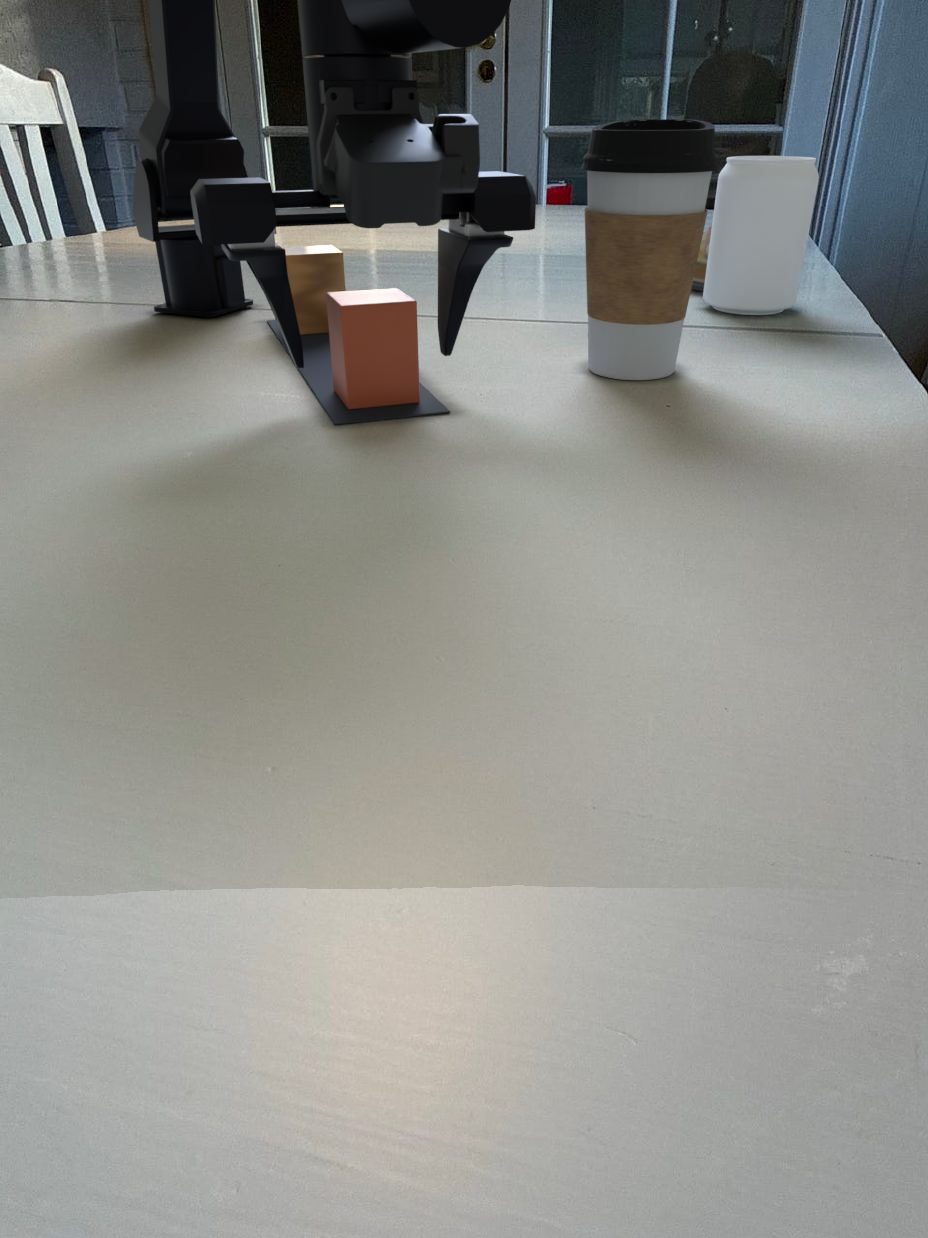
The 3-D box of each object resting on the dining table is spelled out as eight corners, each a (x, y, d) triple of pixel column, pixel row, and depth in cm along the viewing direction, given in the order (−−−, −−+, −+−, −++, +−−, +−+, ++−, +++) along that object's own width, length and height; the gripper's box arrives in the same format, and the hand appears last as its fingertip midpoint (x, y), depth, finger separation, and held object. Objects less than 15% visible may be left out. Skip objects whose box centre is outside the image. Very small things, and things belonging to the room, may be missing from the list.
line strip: (450, 412, 52) (450, 411, 52) (334, 424, 50) (334, 423, 50) (347, 315, 76) (347, 314, 76) (267, 321, 74) (267, 320, 74)
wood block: (293, 335, 69) (285, 254, 66) (285, 324, 73) (277, 247, 70) (348, 331, 70) (343, 251, 67) (337, 320, 74) (332, 244, 71)
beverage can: (800, 318, 74) (829, 160, 68) (703, 315, 76) (723, 159, 70) (789, 300, 81) (815, 155, 75) (700, 298, 82) (718, 155, 76)
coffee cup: (699, 359, 62) (730, 118, 55) (685, 390, 56) (718, 120, 48) (584, 350, 65) (599, 119, 57) (557, 379, 58) (569, 120, 50)
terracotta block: (348, 410, 52) (340, 305, 49) (333, 390, 56) (325, 292, 53) (420, 402, 53) (417, 300, 50) (401, 383, 57) (397, 287, 54)
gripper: (180, 47, 36) (232, 413, 44) (585, 52, 41) (567, 380, 49) (169, 59, 45) (214, 361, 53) (503, 63, 50) (499, 338, 58)
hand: (374, 360), depth 53 cm, fingers open, 9 cm apart
